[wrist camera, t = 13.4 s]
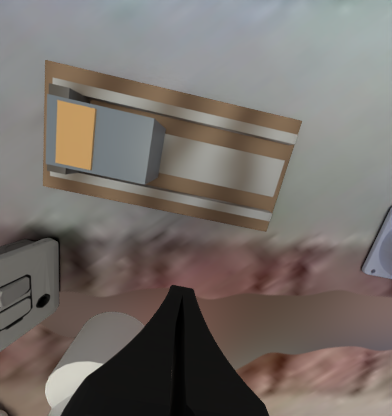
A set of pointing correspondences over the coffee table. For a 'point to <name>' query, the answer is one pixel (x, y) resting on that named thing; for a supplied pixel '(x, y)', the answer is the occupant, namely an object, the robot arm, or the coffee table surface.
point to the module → (103, 140)
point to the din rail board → (185, 150)
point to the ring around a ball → (3, 413)
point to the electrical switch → (27, 286)
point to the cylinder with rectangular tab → (89, 355)
